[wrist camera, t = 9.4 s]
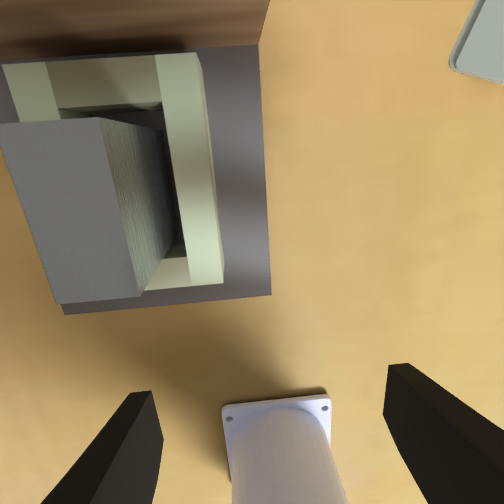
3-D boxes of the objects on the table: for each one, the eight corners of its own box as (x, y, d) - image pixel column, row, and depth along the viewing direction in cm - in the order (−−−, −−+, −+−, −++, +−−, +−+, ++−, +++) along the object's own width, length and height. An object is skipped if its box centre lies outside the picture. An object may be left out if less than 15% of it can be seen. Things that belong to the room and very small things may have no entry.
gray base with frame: (269, 287, 18) (286, 351, 12) (73, 305, 18) (-1, 381, 12) (254, 12, 13) (271, -88, 7) (-19, 28, 13) (-218, -66, 7)
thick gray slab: (179, 232, 15) (140, 296, 9) (131, 236, 15) (56, 304, 9) (162, 130, 14) (97, 116, 7) (108, 134, 14) (-7, 124, 7)
